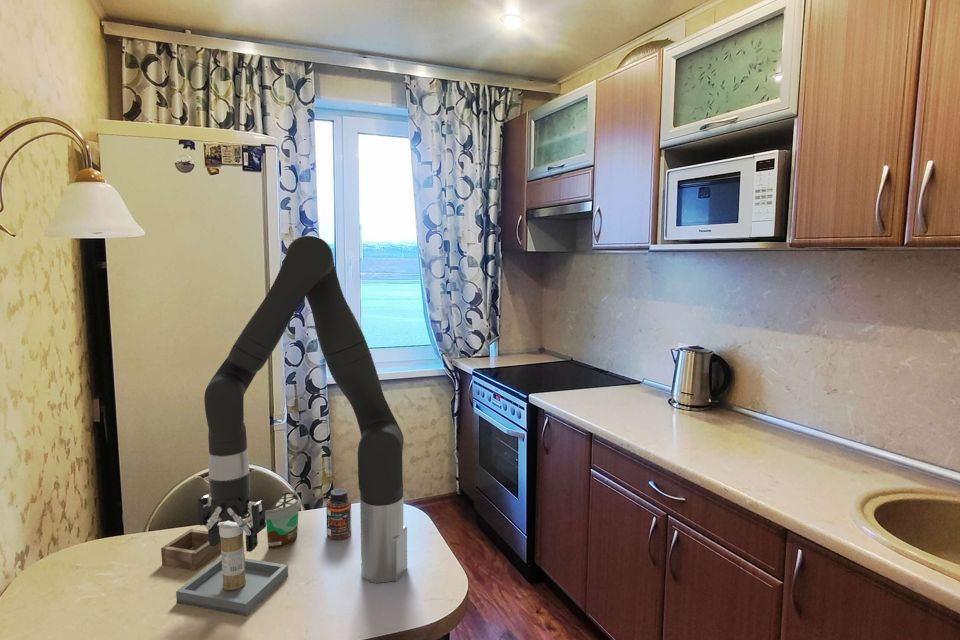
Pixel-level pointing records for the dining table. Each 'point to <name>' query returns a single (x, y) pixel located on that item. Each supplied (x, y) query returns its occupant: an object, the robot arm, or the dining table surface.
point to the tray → (242, 601)
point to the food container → (283, 520)
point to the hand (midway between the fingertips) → (233, 547)
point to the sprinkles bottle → (232, 555)
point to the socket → (189, 551)
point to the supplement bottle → (338, 515)
